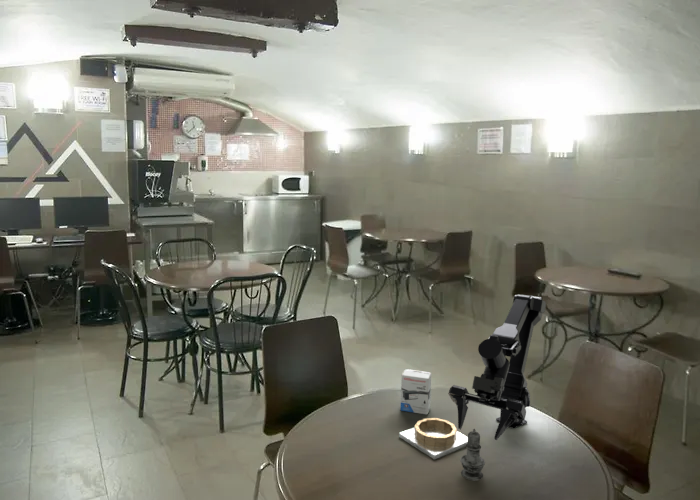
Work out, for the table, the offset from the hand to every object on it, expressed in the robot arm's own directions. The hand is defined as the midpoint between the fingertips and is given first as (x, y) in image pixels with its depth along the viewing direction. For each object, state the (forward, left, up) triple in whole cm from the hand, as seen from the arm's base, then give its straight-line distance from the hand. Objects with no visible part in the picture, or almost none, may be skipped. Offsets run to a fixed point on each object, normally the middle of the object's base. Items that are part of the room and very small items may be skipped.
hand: (477, 434), depth 135 cm
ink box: (-10, -33, -10) cm, 36 cm away
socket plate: (-2, -16, -10) cm, 19 cm away
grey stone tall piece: (+2, +1, -10) cm, 10 cm away
